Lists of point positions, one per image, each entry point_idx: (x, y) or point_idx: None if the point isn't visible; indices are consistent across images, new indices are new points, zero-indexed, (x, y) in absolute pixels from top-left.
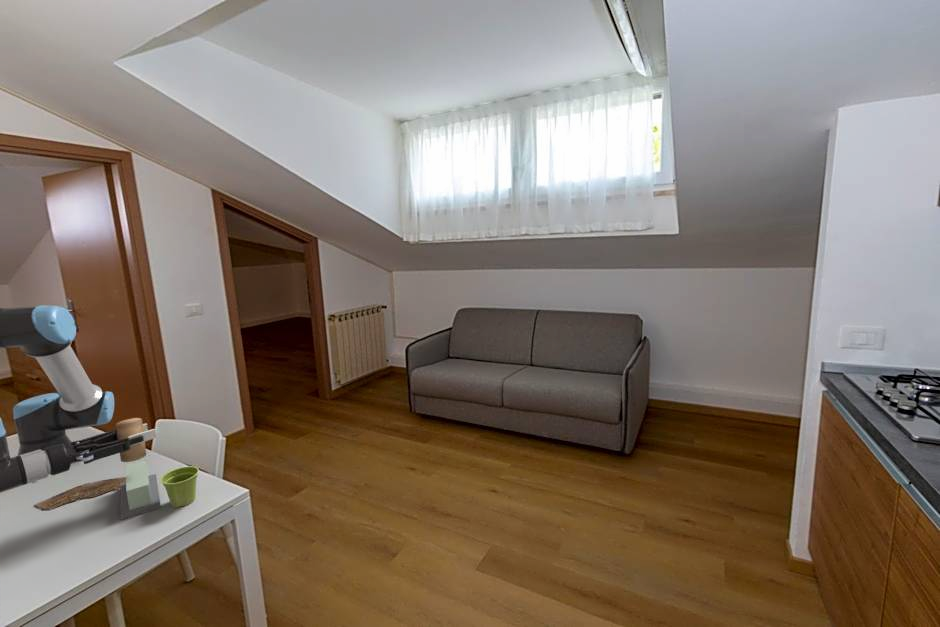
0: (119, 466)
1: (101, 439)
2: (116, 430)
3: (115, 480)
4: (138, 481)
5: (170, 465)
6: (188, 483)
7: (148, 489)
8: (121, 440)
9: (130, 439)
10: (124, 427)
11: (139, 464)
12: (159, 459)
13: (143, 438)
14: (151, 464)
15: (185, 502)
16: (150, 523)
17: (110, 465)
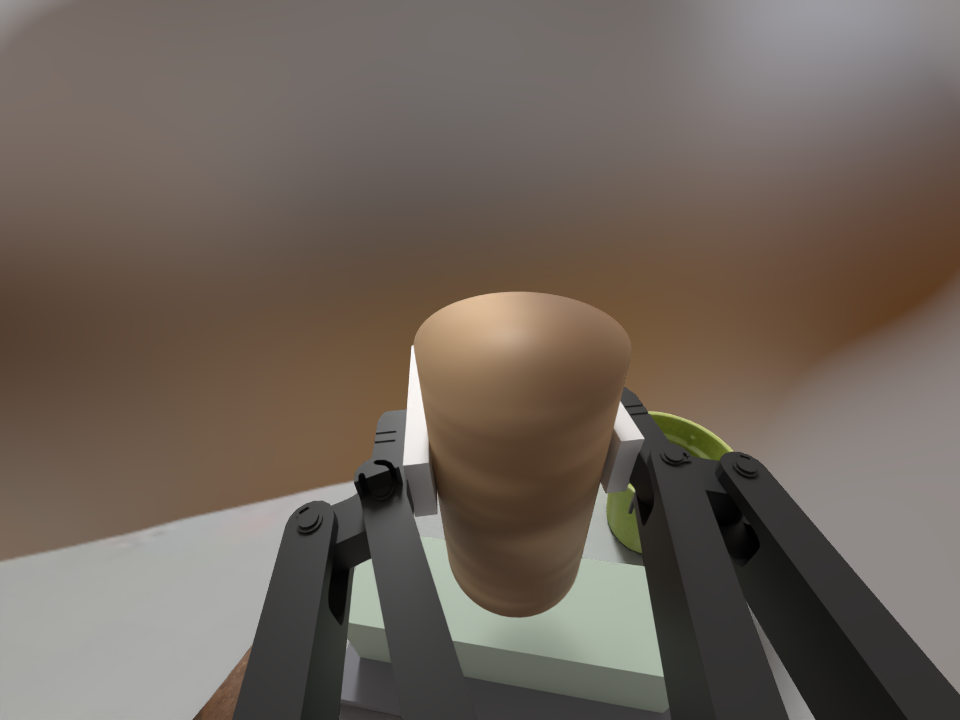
0: (86, 662)
1: (457, 665)
2: (380, 480)
3: (225, 713)
4: (601, 601)
5: (334, 497)
6: (713, 459)
7: None
8: (681, 488)
9: (645, 444)
10: (624, 376)
11: None
12: (242, 514)
13: None
14: (249, 544)
15: None
16: (769, 653)
17: (7, 703)
